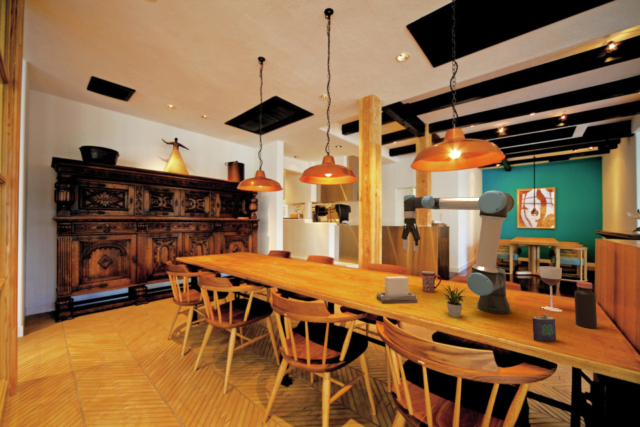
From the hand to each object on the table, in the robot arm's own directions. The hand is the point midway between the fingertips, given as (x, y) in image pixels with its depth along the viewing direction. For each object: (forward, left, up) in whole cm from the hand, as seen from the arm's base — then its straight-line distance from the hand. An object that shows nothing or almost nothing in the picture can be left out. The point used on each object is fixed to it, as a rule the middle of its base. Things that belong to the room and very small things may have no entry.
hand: (410, 250), depth 164 cm
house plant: (-36, -4, -30) cm, 47 cm away
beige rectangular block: (-9, +14, -28) cm, 32 cm away
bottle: (-55, -58, -30) cm, 85 cm away
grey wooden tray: (-9, +14, -30) cm, 34 cm away
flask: (-66, -24, -30) cm, 76 cm away
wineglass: (-32, -67, -30) cm, 80 cm away
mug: (+8, -19, -30) cm, 37 cm away
